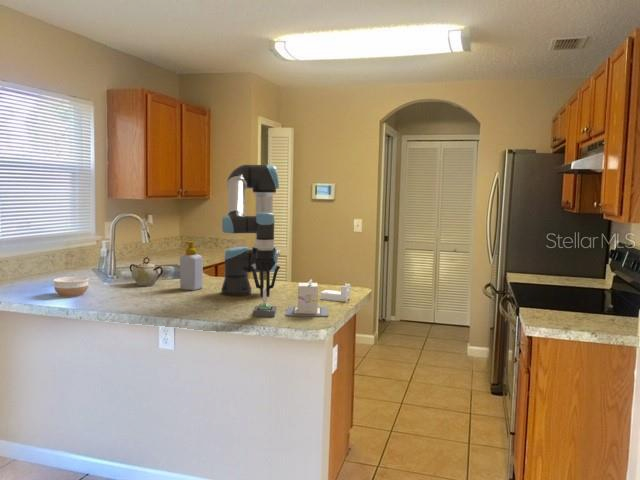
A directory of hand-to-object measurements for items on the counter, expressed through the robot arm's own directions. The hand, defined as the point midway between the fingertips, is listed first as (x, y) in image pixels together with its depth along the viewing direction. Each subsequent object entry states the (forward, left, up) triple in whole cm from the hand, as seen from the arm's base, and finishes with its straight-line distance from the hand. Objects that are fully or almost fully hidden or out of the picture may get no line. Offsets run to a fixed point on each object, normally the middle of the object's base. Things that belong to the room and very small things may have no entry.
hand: (264, 304), depth 226 cm
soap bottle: (-44, +52, -5) cm, 68 cm away
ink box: (+18, +5, -4) cm, 19 cm away
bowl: (-98, +33, -5) cm, 104 cm away
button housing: (0, 0, -4) cm, 4 cm away
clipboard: (+18, +5, -4) cm, 19 cm away
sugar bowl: (-71, +62, -5) cm, 94 cm away
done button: (0, 0, -3) cm, 3 cm away
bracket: (+31, +33, -5) cm, 45 cm away
